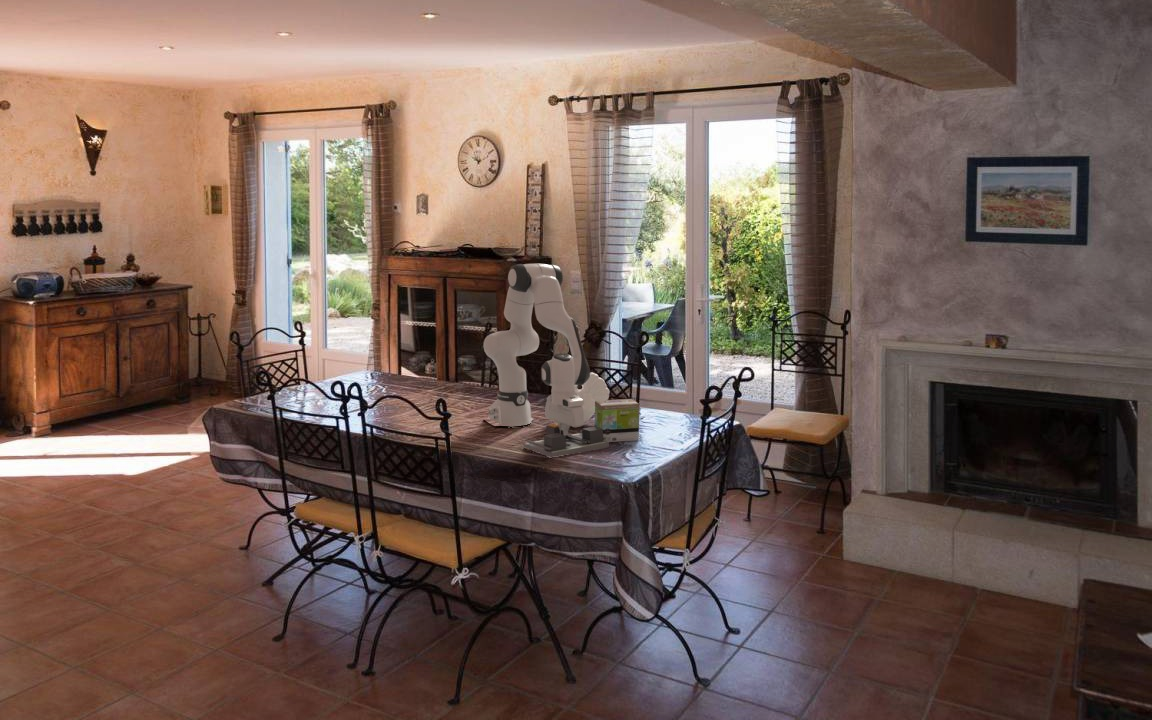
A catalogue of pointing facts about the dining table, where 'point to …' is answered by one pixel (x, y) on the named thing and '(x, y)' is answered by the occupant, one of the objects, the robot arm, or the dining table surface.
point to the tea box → (618, 419)
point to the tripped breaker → (555, 430)
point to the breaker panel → (570, 442)
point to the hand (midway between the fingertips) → (564, 434)
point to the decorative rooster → (592, 394)
